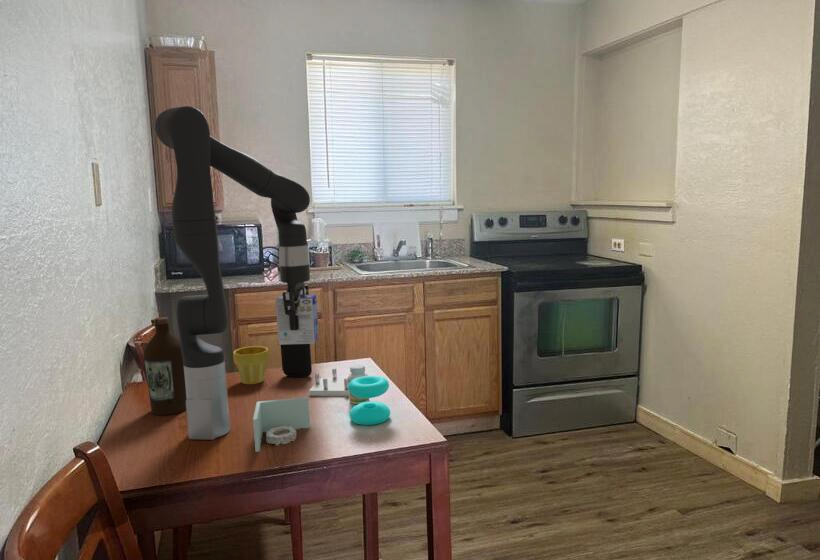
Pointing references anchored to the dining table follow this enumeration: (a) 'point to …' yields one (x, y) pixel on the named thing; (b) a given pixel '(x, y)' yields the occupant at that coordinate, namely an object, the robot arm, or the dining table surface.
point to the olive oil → (165, 371)
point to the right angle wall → (280, 420)
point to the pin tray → (330, 386)
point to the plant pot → (251, 363)
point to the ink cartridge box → (306, 322)
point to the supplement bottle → (355, 373)
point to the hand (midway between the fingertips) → (298, 327)
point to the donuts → (369, 410)
